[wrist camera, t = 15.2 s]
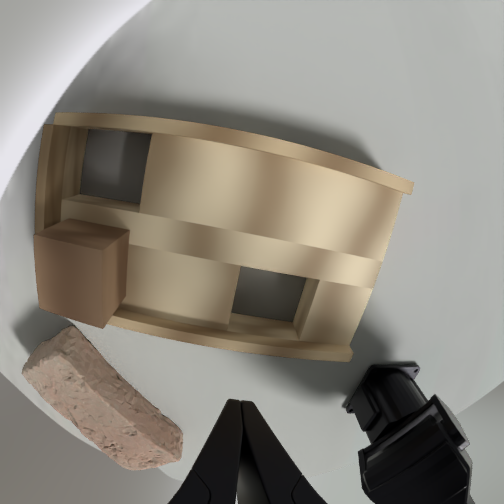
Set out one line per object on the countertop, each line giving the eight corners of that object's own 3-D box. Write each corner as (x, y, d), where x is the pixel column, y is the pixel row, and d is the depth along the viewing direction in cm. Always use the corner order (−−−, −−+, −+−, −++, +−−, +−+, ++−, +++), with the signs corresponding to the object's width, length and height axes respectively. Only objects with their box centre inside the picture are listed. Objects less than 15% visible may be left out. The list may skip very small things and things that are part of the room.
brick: (34, 348, 22) (13, 375, 17) (75, 318, 21) (50, 349, 16) (136, 443, 27) (129, 473, 22) (188, 430, 26) (184, 464, 21)
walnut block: (130, 229, 16) (102, 250, 12) (125, 296, 17) (103, 328, 14) (69, 218, 16) (33, 234, 12) (69, 281, 17) (39, 308, 13)
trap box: (387, 177, 18) (423, 184, 14) (335, 335, 22) (354, 370, 18) (82, 117, 16) (46, 110, 12) (69, 285, 20) (41, 312, 15)
